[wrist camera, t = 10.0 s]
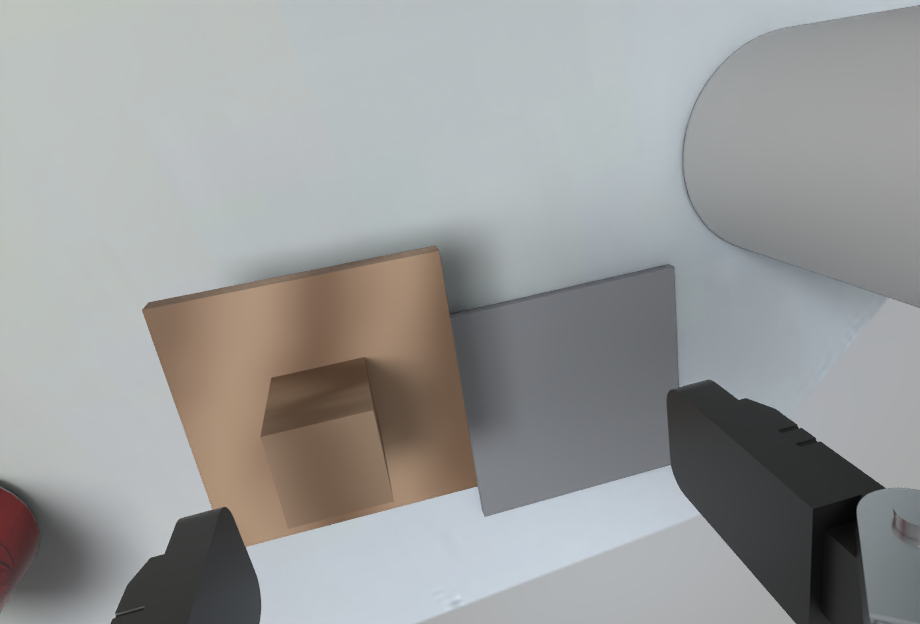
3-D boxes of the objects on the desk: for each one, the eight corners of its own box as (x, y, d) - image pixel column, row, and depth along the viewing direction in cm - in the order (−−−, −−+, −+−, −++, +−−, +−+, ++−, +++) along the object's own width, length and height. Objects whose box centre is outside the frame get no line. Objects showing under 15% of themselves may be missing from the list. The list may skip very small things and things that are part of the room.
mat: (668, 264, 37) (674, 266, 37) (676, 456, 42) (681, 461, 42) (447, 315, 35) (449, 318, 35) (482, 511, 40) (484, 516, 40)
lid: (435, 245, 27) (464, 282, 21) (473, 474, 31) (506, 556, 25) (148, 302, 25) (99, 359, 19) (230, 537, 29) (208, 639, 24)
